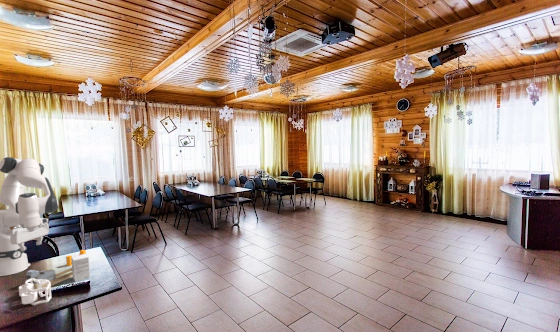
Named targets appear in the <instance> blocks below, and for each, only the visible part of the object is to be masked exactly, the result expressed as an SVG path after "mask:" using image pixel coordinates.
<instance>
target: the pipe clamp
mask: <svg viewBox="0 0 560 332" xmlns="http://www.w3.org/2000/svg"><path fill="white" fill-rule="evenodd" d="M86 252H87V251H86V249H80V250H79V254H78V255H82V254H86V255H87V253H86ZM71 257H73V255H67V256H66V257H65V259H66V261H65V262H66V266H67V267H72V261H71Z"/></svg>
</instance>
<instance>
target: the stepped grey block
mask: <svg viewBox="0 0 560 332" xmlns="http://www.w3.org/2000/svg"><path fill="white" fill-rule="evenodd" d="M25 274H26V275H25V276H26V277H25V279H26V280H25V281H27V280H29V279H31V278H32V276H34V275H37V274H40V271H39V270H35V269H29V270H27V271H26V273H25ZM28 283H31V282H28Z"/></svg>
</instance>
